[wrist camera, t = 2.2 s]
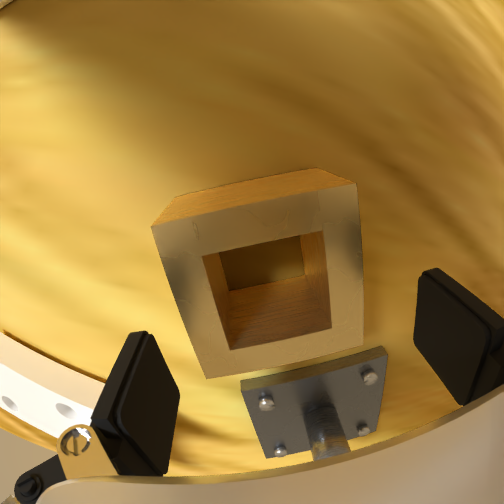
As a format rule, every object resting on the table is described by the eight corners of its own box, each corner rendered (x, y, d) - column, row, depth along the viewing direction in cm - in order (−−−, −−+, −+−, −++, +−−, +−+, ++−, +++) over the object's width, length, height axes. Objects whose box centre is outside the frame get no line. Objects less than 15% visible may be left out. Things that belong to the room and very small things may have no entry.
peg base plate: (240, 380, 19) (246, 469, 12) (382, 345, 19) (427, 418, 12) (265, 449, 23) (273, 515, 16) (372, 422, 23) (397, 482, 16)
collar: (175, 196, 14) (150, 226, 10) (316, 167, 14) (356, 183, 10) (210, 316, 17) (206, 378, 12) (331, 291, 17) (363, 344, 12)
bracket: (144, 387, 19) (124, 474, 12) (132, 433, 21) (118, 503, 14) (-1, 321, 17) (-51, 381, 10) (9, 377, 19) (-25, 433, 12)
